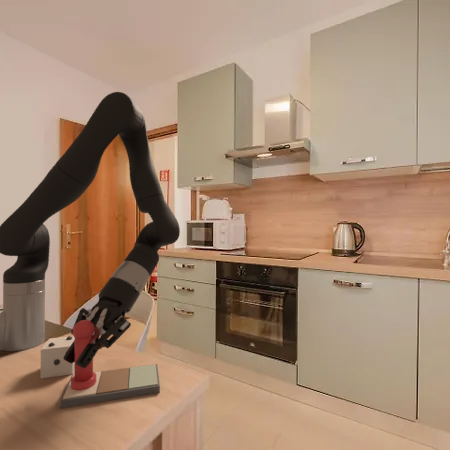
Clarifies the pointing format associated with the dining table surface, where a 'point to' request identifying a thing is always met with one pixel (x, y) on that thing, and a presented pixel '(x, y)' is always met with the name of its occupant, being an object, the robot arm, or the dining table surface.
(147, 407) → the dining table surface
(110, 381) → the board
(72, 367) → the die
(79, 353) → the pawn
